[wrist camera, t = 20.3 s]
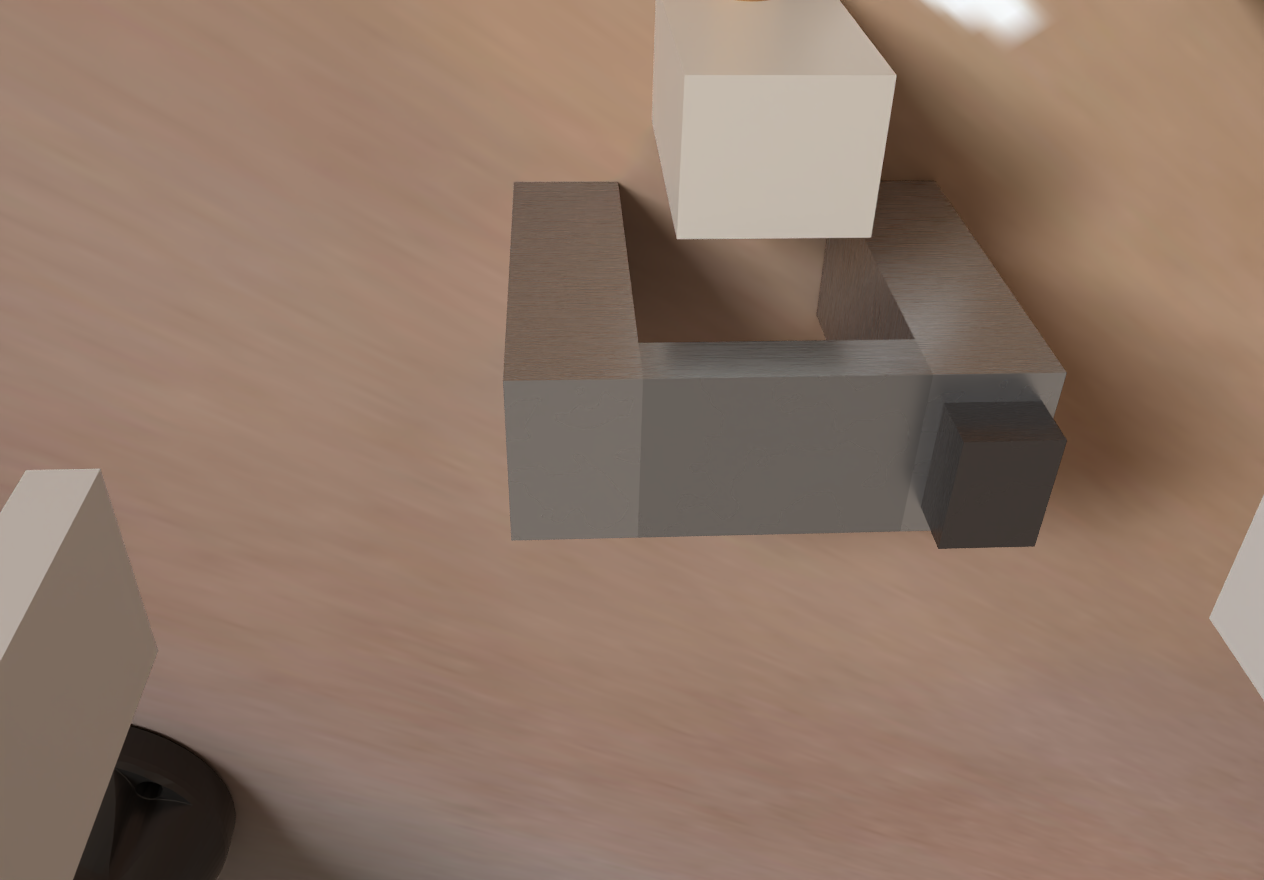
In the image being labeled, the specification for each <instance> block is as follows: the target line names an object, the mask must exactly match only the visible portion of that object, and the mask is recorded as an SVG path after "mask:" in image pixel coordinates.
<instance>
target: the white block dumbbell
mask: <svg viewBox="0 0 1264 880" xmlns="http://www.w3.org/2000/svg"><path fill="white" fill-rule="evenodd" d="M896 77H897V75H896V74H895V72H894V71H893V70H892V68H891V67H890V66H889V64H888V63H887V62H886V61H885V59H884V58H883V57H882V55H881V54H880V53H879V51H878V50H877V49H876V47H875V46H874V45H873V43H872V42H871V41H870V40H869V38H868V37H867V36H866V34H865V33H864V32H863V30H862V29H861V28H860V26H859V25H858V24H857V22H856V21H855V20H854V18H853V17H852V16H851V15H850V13H849V12H848V11H847V9H846V8H845V7H844V5H843V4H842V3H841V1H840V0H656V8H655V39H654V71H653V102H652V124H653V128H654V133H655V138H656V143H657V147H658V152H659V157H660V162H661V167H662V171H663V176H664V181H665V186H666V190H667V195H668V200H669V205H670V209H671V214H672V219H673V224H674V228H675V233H676V238H677V239H758V238H871V235H872V228H873V222H874V216H875V209H876V203H877V197H878V191H879V184H880V178H881V172H882V165H883V159H884V153H885V146H886V140H887V134H888V127H889V121H890V115H891V108H892V102H893V96H894V89H895V83H896Z"/></svg>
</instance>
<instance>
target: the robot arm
mask: <svg viewBox="0 0 1264 880" xmlns="http://www.w3.org/2000/svg"><path fill="white" fill-rule="evenodd" d="M1209 619H1210V620H1211V622H1212V623H1213V625H1214V626H1215V628H1216V629H1217V631H1218V632H1219V634H1220V635H1221V637H1222V638H1223V640H1224V641H1225V643H1226V644H1227V646H1228V647H1229V649H1230V650H1231V652H1232V653H1233V655H1234V656H1235V658H1236V659H1237V661H1238V662H1239V664H1240V665H1241V667H1242V668H1243V670H1244V671H1245V673H1246V674H1247V676H1248V677H1249V679H1250V680H1251V682H1252V683H1253V685H1254V686H1255V688H1256V689H1257V691H1258V692H1259V694H1260V695H1261V697H1262V698H1263V700H1264V496H1263V498H1262V500H1261V502H1260V505H1259V507H1258V509H1257V511H1256V514H1255V516H1254V518H1253V520H1252V523H1251V525H1250V527H1249V529H1248V532H1247V534H1246V536H1245V539H1244V541H1243V543H1242V545H1241V548H1240V550H1239V552H1238V554H1237V557H1236V559H1235V561H1234V563H1233V566H1232V568H1231V570H1230V572H1229V575H1228V577H1227V579H1226V581H1225V584H1224V586H1223V588H1222V590H1221V593H1220V595H1219V597H1218V599H1217V602H1216V604H1215V606H1214V608H1213V611H1212V613H1211V615H1210V617H1209ZM157 652H158V649H157V646H156V642H155V639H154V636H153V633H152V630H151V627H150V623H149V620H148V617H147V614H146V611H145V608H144V605H143V601H142V598H141V595H140V592H139V589H138V586H137V583H136V579H135V576H134V573H133V570H132V567H131V564H130V561H129V557H128V554H127V551H126V548H125V545H124V542H123V539H122V535H121V532H120V529H119V526H118V523H117V520H116V517H115V513H114V510H113V507H112V504H111V501H110V498H109V495H108V491H107V488H106V485H105V482H104V479H103V476H102V472H101V469H64V470H26V471H25V473H24V474H23V476H22V478H21V479H20V481H19V483H18V484H17V486H16V488H15V489H14V491H13V493H12V494H11V496H10V498H9V499H8V501H7V502H6V504H5V506H4V507H3V509H2V511H1V512H0V880H216V878H217V877H218V875H219V873H220V872H221V869H222V867H223V865H224V862H225V860H226V857H227V853H228V849H229V845H230V841H231V838H232V834H233V830H234V825H235V809H234V804H233V801H232V798H231V796H230V793H229V791H228V790H227V788H226V786H225V785H224V783H223V782H222V780H221V779H220V778H219V777H218V775H217V774H216V773H215V772H214V771H213V770H212V769H211V768H210V767H209V766H208V765H207V764H205V763H204V762H203V761H202V760H201V759H199V758H198V757H196V756H195V755H194V754H192V753H191V752H189V751H188V750H186V749H184V748H182V747H181V746H179V745H177V744H175V743H173V742H171V741H169V740H167V739H165V738H162V737H160V736H158V735H155V734H153V733H150V732H147V731H144V730H141V729H138V728H134V727H131V726H130V725H131V722H132V720H133V717H134V714H135V711H136V709H137V706H138V703H139V701H140V698H141V695H142V693H143V690H144V687H145V685H146V682H147V679H148V677H149V674H150V671H151V668H152V666H153V663H154V660H155V658H156V655H157Z"/></svg>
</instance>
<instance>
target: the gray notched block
mask: <svg viewBox="0 0 1264 880" xmlns="http://www.w3.org/2000/svg"><path fill="white" fill-rule="evenodd" d="M817 318H818V320H819V323H820V325H821V328H822V330H823V333H824V336H825V338H826V340H824V341H745V342H666V343H638V335H637V328H636V320H635V312H634V304H633V296H632V289H631V281H630V273H629V265H628V257H627V250H626V242H625V234H624V226H623V218H622V211H621V203H620V195H619V187H618V182H515V183H514V191H513V210H512V228H511V246H510V264H509V283H508V301H507V319H506V338H505V356H504V374H503V388H504V407H505V426H506V445H507V464H508V484H509V503H510V522H511V540H550V539H593V538H635V537H678V536H720V535H763V534H805V533H848V532H890V531H931V532H932V535H933V537H934V540H935V542H936V544H937V547H938V549H947V548H987V547H1028V546H1035V543H1036V540H1037V537H1038V534H1039V530H1040V527H1041V524H1042V521H1043V517H1044V514H1045V511H1046V507H1047V504H1048V501H1049V498H1050V494H1051V491H1052V488H1053V485H1054V481H1055V478H1056V475H1057V471H1058V468H1059V465H1060V462H1061V458H1062V455H1063V452H1064V449H1065V445H1066V442H1067V440H1066V438H1065V437H1064V435H1063V433H1062V432H1061V430H1060V429H1059V427H1058V425H1057V424H1056V422H1055V421H1054V419H1053V418H1054V414H1055V411H1056V408H1057V404H1058V401H1059V397H1060V394H1061V391H1062V387H1063V384H1064V380H1065V377H1066V373H1067V372H1066V371H1065V369H1064V368H1063V367H1062V365H1061V364H1060V362H1059V361H1058V359H1057V358H1056V356H1055V355H1054V353H1053V352H1052V351H1051V349H1050V348H1049V346H1048V345H1047V343H1046V342H1045V340H1044V339H1043V337H1042V336H1041V335H1040V333H1039V332H1038V330H1037V329H1036V327H1035V326H1034V324H1033V323H1032V321H1031V320H1030V319H1029V317H1028V316H1027V314H1026V313H1025V311H1024V310H1023V308H1022V307H1021V305H1020V304H1019V303H1018V301H1017V300H1016V298H1015V297H1014V295H1013V294H1012V292H1011V291H1010V289H1009V288H1008V287H1007V285H1006V284H1005V282H1004V281H1003V279H1002V278H1001V276H1000V275H999V273H998V272H997V271H996V269H995V268H994V266H993V265H992V263H991V262H990V260H989V259H988V257H987V256H986V255H985V253H984V252H983V250H982V249H981V247H980V246H979V244H978V243H977V241H976V240H975V239H974V237H973V236H972V234H971V233H970V231H969V230H968V228H967V227H966V225H965V224H964V223H963V221H962V220H961V218H960V217H959V215H958V214H957V212H956V211H955V209H954V208H953V207H952V205H951V204H950V202H949V201H948V199H947V198H946V196H945V195H944V193H943V192H942V191H941V189H940V188H939V186H938V185H937V183H936V182H935V181H880V184H879V191H878V197H877V203H876V209H875V216H874V222H873V228H872V235H871V238H827V242H826V249H825V257H824V264H823V272H822V279H821V287H820V294H819V301H818V309H817Z"/></svg>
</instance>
